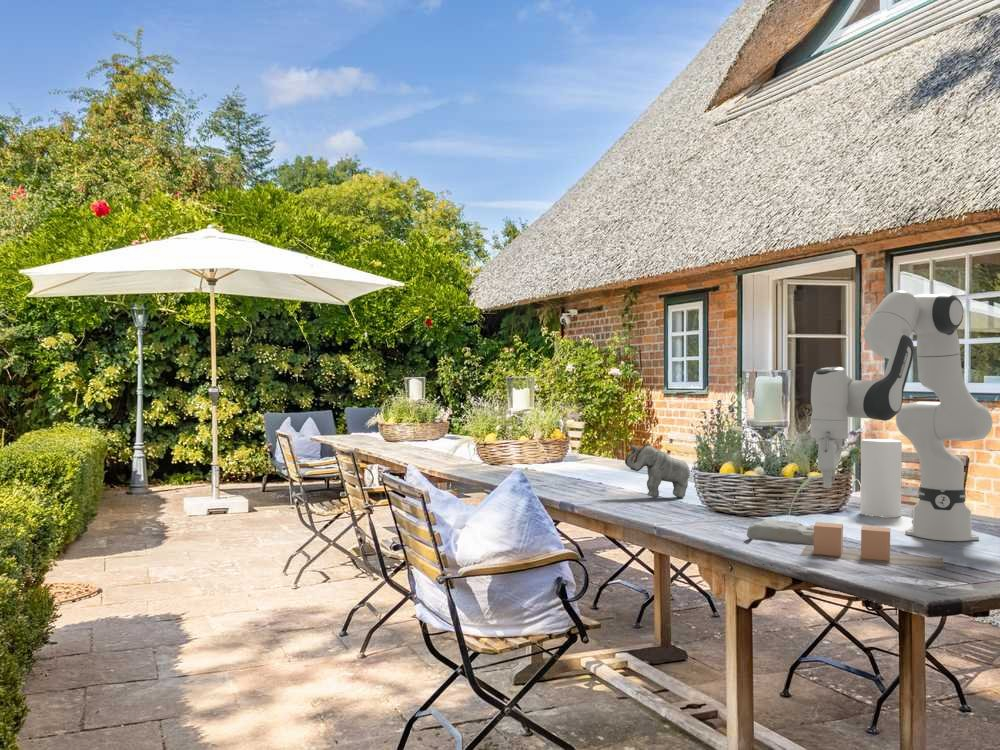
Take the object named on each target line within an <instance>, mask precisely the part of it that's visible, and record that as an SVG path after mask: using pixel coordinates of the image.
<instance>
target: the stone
mask: <svg viewBox="0 0 1000 750" xmlns="http://www.w3.org/2000/svg"><path fill="white" fill-rule="evenodd" d="M814 525H815V524H814ZM814 525H813V524H812V525H811V524H810V525H804V524H803V523H797V522H794V521H788V520H779V519H775V518H767V519H763V520H761V521H758V522H756V521H755V522H752V523H751V524H750V525H749V526H748V528H747V531H746V537H747V538H748V539H749V540H751V541H753V540H754V539H763V540H764V539H765V540H771V541H773V540H774V541H780V542H781V541H782V542H787V543H789V542H790V543H798V544H806V545H807V544H808V545H814Z"/></svg>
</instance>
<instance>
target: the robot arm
mask: <svg viewBox="0 0 1000 750" xmlns="http://www.w3.org/2000/svg"><path fill="white" fill-rule="evenodd" d="M963 319H964V306H963V303H962V302H961V301H960V299H959V298H958V297H957V296H956V295H953V294H949V293H939V294H936V293H935V294H934V293H921V294H920V293H919V294H917V295H913V294H912V293H911V292H908V291H906V290H896V291H895V290H894V291H892V292H890V293H888V294H887V295H886V296H885V297H884V298H883V299H882V300H881V302H880V303H879V304H878V305H877V306H876V308H875V309H874V311H873V312H872V314H871V316H870V317H869V319H868V321H867V323H866V324H865V328H864V331H863V339H864V342H865V344H866V345H867V347H868V348H869V350H871V351H872V352H873V353H874V354H876V355H878V356H879V357H882V358H885V359H888V362H887V364H886V368H885V371H884V374H883V376H882V377H880V378H877V379H874V380H873V379H872V380H866V379H865V380H862V379H861V380H860V379H859V380H857V379H854V378H852V377H850V376H849V375H847V371H846V369H845V368H844V367H842V366H827V367H821V368H818V369H816V370H815V371H814V372H813V375H812V378H811V379H812V380H811V387H810V404H811V408H812V411H811V415H810V438H813V439H815V444H816V445H818V448H817V449H818V450H817V451H818V452H817V457H818V458H817V468H818V470H819V472H820V471H821V472H822V474H821V475H822V481H823V483H822V485H823V486H822V487H823V488H824V489H831V488H832V484H834V483H835V477H836V468H837V467H838V465H839V464H840V460H841V456H842V455H841V454H842V445H843V444H844V439H848V438H849V418H855V419H859V418H860V419H872V420H877V421H883V422H884V421H885V422H887V421H890V420H891V419H893V418H895V424H896V426H897V429H898V431H899V432H900V433H901V434H902V435H904V437H905V438H907V439H908V440H909V441H910V443H911V444H912V446H913V448H914V449H915V451H916V453H917V456H918V459H919V460H918V461H919V469H920V470H919V471H920V486H919V488H918V499H919V501H917V502H916V504H915V505H914V506H912V508H913V509H912V510H911V518H912V520H911V524H912V526H910V527H908V528H907V529H906V530H905V532H904V534H905V535H909V536H913V537H918V538H922V539H926V540H935V541H944V542H945V541H946V542H966V541H967V542H968V541H979V540H980V538H979V535H977V534H975V533H973V532H972V530H973V529H972V510H971V509H970V508H969V507H968V506H967V505H966V503H965V502H966V498H967V497H966V495H967V494H966V489H965V488H964V487H965V485H964V483H965V481H964V480H965V477H964V476H965V474H964V473H965V465H964V463H963V461H962V459H961V458H960V457H959V456H958V455H956V454H954V453H952V452H950V451H949V450H948V448H946V446H945V443H944V441H954V442H955V441H957V442H971V441H978V440H985V438H987V436H989V434H990V433H991V430H992V428H993V417H992V415H991V412H990V411H989V409H988V408H987V407H986V406H984V405H982V404H981V403H980V402H979V401H977V400H976V399H975V398H974V396H973V395H972V394H971V393H970V391H969V389H968V388H967V385H966V384H965V381H964V376H963V370H962V368H963V367H962V358H961V345H960V339H959V334H958V330H957V329H959V327H960V326H961V324H962V322H963ZM911 335H917V340H916V358H917V360H916V362H917V372H918V373H917V375H918V380H919V382H920V385H922V386H923V387H924V388H926V389H928V390H930V391H931V392H933V393H934V394H935V395H936V396H937V398H938V399H939V401H925V400H924V401H922V400H921V401H912V402H907V403H904V404H903V401H904V400H903V399H904V390H905V387H906V383H907V380H908V377H909V372H910V369H911V367H912V362H913V358H914V352H915V348H914V347H915V346H914V341H913V340H912V339H911V338H910V337H911Z"/></svg>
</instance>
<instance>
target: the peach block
mask: <svg viewBox="0 0 1000 750" xmlns="http://www.w3.org/2000/svg"><path fill="white" fill-rule="evenodd" d="M813 547H814V554H823V555H834V556H841V555H842V552H843V548H844V524H843V523H832V522H819V521H816V522H815V524H814V544H813Z"/></svg>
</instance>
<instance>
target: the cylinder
mask: <svg viewBox="0 0 1000 750" xmlns="http://www.w3.org/2000/svg"><path fill="white" fill-rule="evenodd" d="M902 443H903V442H902V440H898V439H884V438H883V439H882V438H863V439H861V440H860V509H859V510H860V512H861V513H863V514H867V515H873V516H883V517H882V518H887V517H893V518H900V517H901V516H902V461H903V460H902V453H903V452H902V449H903V447H902ZM861 513H860V514H861ZM863 514H862V515H863ZM867 515H866V516H867ZM873 516H872V517H873ZM899 516H900V517H899Z"/></svg>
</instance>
